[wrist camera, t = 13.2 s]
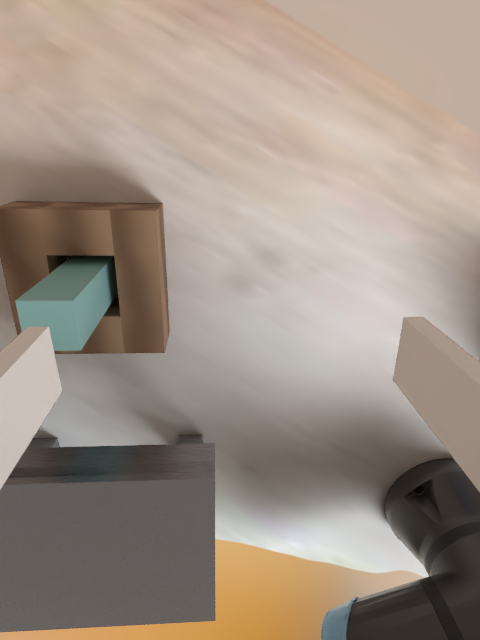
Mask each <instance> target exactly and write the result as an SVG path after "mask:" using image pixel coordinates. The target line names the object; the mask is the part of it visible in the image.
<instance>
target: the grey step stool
mask: <svg viewBox="0 0 480 640" xmlns="http://www.w3.org/2000/svg"><path fill="white" fill-rule="evenodd" d="M200 621H215V453H214V444H203V435H179V438H178V444H177V445H137V446H96V447H59V443H58V438H38V439H32V440H31V442H30V444H29V445H28V447H27V448H26V450H25V451H24V453H23V455H22V456H21V458H20V459H19V461H18V462H17V464H16V466H15V467H14V469H13V470H12V472H11V474H10V475H9V477H8V478H7V480H6V482H5V483H4V485H3V486H2V488H1V489H0V632H13V631H31V630H51V629H69V628H89V627H108V626H126V625H145V624H164V623H183V622H200Z"/></svg>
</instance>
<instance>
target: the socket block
mask: <svg viewBox="0 0 480 640" xmlns="http://www.w3.org/2000/svg"><path fill="white" fill-rule="evenodd" d="M67 255H91V256H114V258H115V268H116V278H117V287H118V297H119V299H114V300H113V301H112V303H111V305H110V306H109V308H108V309H107V311H106V312H105V314H104V315H103V317H102V319H101V320H100V322H99V323H98V325H97V326H96V328H95V329H94V331H93V333H92V334H91V336H90V337H89V339H88V340H87V342H86V343H85V345H84V346H83V348H82V350H81V351H54V354H88V353H165V349H166V344H167V340H168V336H169V315H168V296H167V277H166V258H165V239H164V220H163V204H160V203H90V202H21V201H16V202H12V203H9V204H5V205H2V206H0V257H1V262H2V266H3V271H4V276H5V280H6V285H7V289H8V294H9V298H10V303H11V308H12V312H13V317H14V321H15V326H16V330H17V335H19V334H20V333H21V332H22V331H21V326H20V321H19V317H18V312H17V307H16V303H15V300H17V299H18V298H19V297H21V296H22V295H23V294H24V293H26V292H27V291H28V290H29V289H31V288H32V287H33V286H35V285H36V284H37V283H38V282H40V281H41V280H42V279H44V278H45V277H46V276H47V275H49V274H50V273H51V272H52V271H54V270H55V269H56V268H58V267H59V266H60V265H61V264H63V263H64V262H65V261H66V260H67Z"/></svg>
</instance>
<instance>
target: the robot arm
mask: <svg viewBox="0 0 480 640" xmlns="http://www.w3.org/2000/svg"><path fill="white" fill-rule="evenodd" d="M393 381H394V382H395V383H396V385H397V386H398V387H399V389H400V390H401V391H402V392H403V394H404V395H405V396H406V398H407V399H408V400H409V401H410V403H411V404H412V405H413V407H414V408H415V409H416V411H417V412H418V413H419V414H420V416H421V417H422V418H423V420H424V421H425V422H426V423H427V425H428V426H429V427H430V429H431V430H432V431H433V432H434V434H435V435H436V436H437V438H438V439H439V440H440V442H441V443H442V444H443V445H444V447H445V448H446V449H447V451H448V452H449V453H450V454H451V456H452V457H453V458H454V459H442V460H435V461H431V462H428V463H425V464H422V465H420V466H418V467H416V468H414V469H412V470H410V471H409V472H407V473H406V474H404V475H403V476H402V477H401V478H400V479H399V480H398V481H397V482H396V483H395V484H394V485H393V486H392V488H391V489H390V491H389V493H388V495H387V497H386V500H385V507H384V508H385V515H386V518H387V520H388V522H389V524H390V526H391V528H392V530H393V532H394V534H395V535H396V536H397V538H398V539H399V540H401V541H402V542H403V543H404V545H405V546H406V547H407V548H408V549H409V550H410V551H411V552H412V554H413V555H414V556H415V557H416V558H417V559H418V560H419V561H420V562H421V563H422V564H423V565H424V567H425V569H426V571H427V573H428V575H429V577H426V578H423V579H420V580H417V581H413V582H410V583H407V584H404V585H400V586H397V587H394V588H391V589H387V590H384V591H381V592H378V593H375V594H371V595H368V596H365V597H362V598H358V597H356V598H353V599H352V600H351V601H350V602H348V603H346V604H343V605H340V606H337V607H335V608H332V609H331V610H329V611H328V612H327V614H326V616H325V618H324V621H323V624H322V633H321V640H480V362H479V361H478V360H477V359H475V358H474V357H473V356H472V355H470V354H469V353H468V352H467V351H465V350H464V349H463V348H462V347H460V346H459V345H458V344H457V343H455V342H454V341H453V340H452V339H450V338H449V337H448V336H447V335H445V334H444V333H443V332H442V331H440V330H439V329H438V328H437V327H435V326H434V325H433V324H432V323H430V322H429V321H428V320H427V319H425V318H424V317H404V318H403V324H402V330H401V336H400V342H399V348H398V354H397V360H396V366H395V372H394V377H393ZM61 393H62V388H61V383H60V378H59V373H58V369H57V364H56V359H55V354H54V349H53V344H52V339H51V335H50V330H49V326H47V327H27V328H25V329H24V330H23V331H22V332H21V333H20V334H19V335H18V336H17V337H16V338H15V339H14V340H13V341H12V342H11V343H10V344H9V345H8V346H6V347H5V348H4V349H3V350H2V351H1V352H0V489H1V488H2V486H3V485H4V483H5V482H6V480H7V478H8V477H9V475H10V474H11V472H12V470H13V469H14V467H15V466H16V464H17V462H18V461H19V459H20V458H21V456H22V455H23V453H24V451H25V450H26V448H27V447H28V445H29V443H30V442H31V440H32V439H33V437H34V435H35V434H36V432H37V431H38V429H39V427H40V426H41V424H42V423H43V421H44V420H45V418H46V416H47V415H48V413H49V412H50V410H51V408H52V407H53V405H54V404H55V402H56V400H57V399H58V397H59V396H60V394H61Z"/></svg>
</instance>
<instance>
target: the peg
mask: <svg viewBox="0 0 480 640" xmlns="http://www.w3.org/2000/svg"><path fill="white" fill-rule="evenodd" d="M117 294H118V287H117V278H116V268H115V258H114V256H91V255H73V256H72V257H70V258H69V259H68V260H66V261H65V262H64V263H63V264H61V265H60V266H59V267H58V268H56V269H55V270H54V271H52V272H51V273H50V274H49V275H47V276H46V277H45V278H44V279H42V280H41V281H40V282H38V283H37V284H36V285H35V286H33V287H32V288H31V289H29V290H28V291H27V292H26V293H24V294H23V295H22V296H21V297H19V298H18V299H17V300H15V303H16V307H17V312H18V317H19V321H20V326H21V331H23V330H24V329H25V328H27V327H47V326H49V330H50V335H51V339H52V344H53V349H54V351H81V350H82V348H83V346H84V345H85V343H86V342H87V340H88V339H89V337H90V336H91V334H92V333H93V331H94V329H95V328H96V326H97V325H98V323H99V322H100V320H101V319H102V317H103V315H104V314H105V312H106V311H107V309H108V308H109V306H110V305H111V303H112V301H113V300H114V298H115V297H116V295H117Z"/></svg>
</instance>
